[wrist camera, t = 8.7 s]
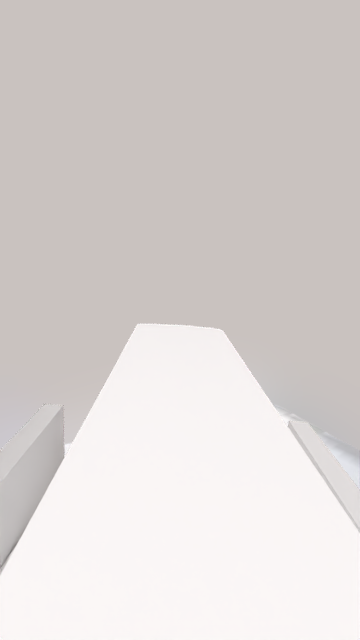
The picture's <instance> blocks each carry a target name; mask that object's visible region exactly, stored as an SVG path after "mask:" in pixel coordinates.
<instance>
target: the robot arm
mask: <svg viewBox="0 0 360 640" xmlns="http://www.w3.org/2000/svg"><path fill="white" fill-rule="evenodd" d="M288 428H289V429H290V431H291V432H292V434H293V435H294V437H295V438H296V440H297V441H298V443H299V444H300V446H301V447H302V449H303V450H304V451H305V453H306V454H307V456H308V457H309V459H310V460H311V462H312V463H313V465H314V466H315V468H316V469H317V471H318V472H319V474H320V475H321V477H322V478H323V480H324V481H325V483H326V484H327V485H328V487H329V488H330V490H331V491H332V493H333V494H334V496H335V497H336V499H337V500H338V502H339V503H340V505H341V506H342V508H343V509H344V511H345V512H346V514H347V515H348V517H349V518H350V519H351V521H352V522H353V524H354V525H355V527H356V528H357V530H358V531H359V533H360V489H359V488H358V487H357V486H356V484H355V483H354V482H353V480H352V479H351V478H350V476H349V475H348V474H347V472H346V471H345V470H344V469H343V467H342V466H341V465H340V463H339V462H338V461H337V459H336V458H335V457H334V456H333V454H332V453H331V452H330V450H329V449H328V448H327V446H326V445H325V444H324V442H323V441H322V440H321V439H320V437H319V436H318V435H317V433H316V432H315V431H314V429H313V428H312V427H311V425H310V424H309V423H308V422H300V421H289V424H288ZM63 459H64V414H63V405H53V404H44V405H43V406H42V407H41V408H40V409H39V410H38V411H37V412H36V413H35V414H34V415H33V416H32V417H31V418H30V420H29V421H28V422H27V423H26V424H25V425H24V426H23V427H22V428H21V429H20V430H19V431H18V432H17V433H16V434H15V435H14V436H13V437H12V438H11V440H10V441H9V442H8V443H7V444H6V445H5V446H4V447H3V448H2V449H1V450H0V568H1V567H2V565H3V564H4V562H5V561H6V559H7V558H8V556H9V555H10V553H11V552H12V551H13V549H14V548H15V546H16V545H17V543H18V542H19V540H20V538H21V536H22V534H23V532H24V531H25V529H26V527H27V525H28V523H29V521H30V520H31V518H32V516H33V514H34V512H35V511H36V509H37V507H38V505H39V503H40V501H41V500H42V498H43V496H44V494H45V492H46V490H47V489H48V487H49V485H50V483H51V481H52V479H53V478H54V476H55V474H56V472H57V470H58V468H59V467H60V465H61V463H62V461H63Z"/></svg>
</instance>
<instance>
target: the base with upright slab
mask: <svg viewBox="0 0 360 640" xmlns="http://www.w3.org/2000/svg"><path fill="white" fill-rule="evenodd" d="M0 640H360V533H359V531H358V530H357V528H356V527H355V525H354V524H353V522H352V521H351V519H350V518H349V517H348V515H347V514H346V512H345V511H344V509H343V508H342V506H341V505H340V503H339V502H338V500H337V499H336V497H335V496H334V494H333V493H332V491H331V490H330V488H329V487H328V485H327V484H326V483H325V481H324V480H323V478H322V477H321V475H320V474H319V472H318V471H317V469H316V468H315V466H314V465H313V463H312V462H311V460H310V459H309V457H308V456H307V454H306V453H305V451H304V450H303V449H302V447H301V446H300V444H299V443H298V441H297V440H296V438H295V437H294V435H293V434H292V432H291V431H290V429H289V428H288V426H287V425H286V423H285V422H284V420H283V419H282V417H281V416H280V415H279V413H278V412H277V410H276V409H275V407H274V406H273V404H272V403H271V401H270V400H269V398H268V397H267V395H266V394H265V392H264V391H263V389H262V388H261V387H260V385H259V384H258V382H257V381H256V379H255V378H254V376H253V375H252V373H251V372H250V370H249V369H248V367H247V366H246V364H245V363H244V361H243V360H242V358H241V357H240V355H239V354H238V352H237V351H236V349H235V348H234V347H233V345H232V344H231V342H230V341H229V339H228V338H227V336H226V335H225V333H224V332H223V330H222V329H216V328H208V327H198V326H187V325H171V324H137V326H136V327H135V329H134V331H133V333H132V335H131V336H130V338H129V340H128V342H127V344H126V346H125V348H124V350H123V351H122V353H121V355H120V357H119V358H118V360H117V362H116V364H115V366H114V368H113V370H112V371H111V373H110V375H109V377H108V379H107V381H106V382H105V384H104V386H103V388H102V390H101V391H100V393H99V395H98V397H97V399H96V401H95V402H94V404H93V406H92V408H91V410H90V412H89V413H88V415H87V417H86V419H85V421H84V423H83V424H82V426H81V428H80V430H79V432H78V434H77V435H76V437H75V439H74V441H73V443H72V445H71V446H70V448H69V450H68V452H67V454H66V456H65V457H64V459H63V461H62V463H61V465H60V467H59V468H58V470H57V472H56V474H55V476H54V478H53V479H52V481H51V483H50V485H49V487H48V489H47V490H46V492H45V494H44V496H43V498H42V500H41V501H40V503H39V505H38V507H37V509H36V511H35V512H34V514H33V516H32V518H31V520H30V521H29V523H28V525H27V527H26V529H25V531H24V532H23V534H22V536H21V538H20V540H19V542H18V543H17V545H16V546H15V548H14V549H13V551H12V552H11V553H10V555H9V556H8V558H7V559H6V561H5V562H4V564H3V565H2V567H1V568H0Z"/></svg>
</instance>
